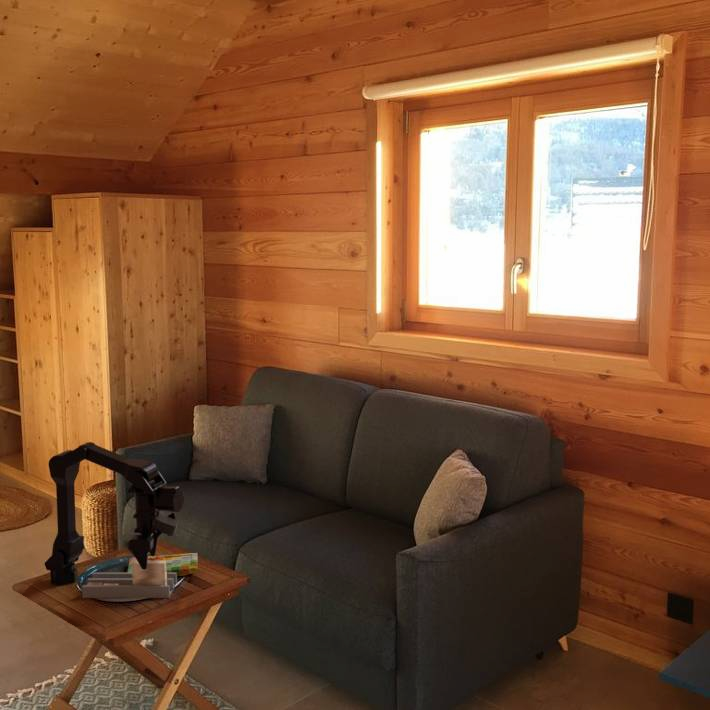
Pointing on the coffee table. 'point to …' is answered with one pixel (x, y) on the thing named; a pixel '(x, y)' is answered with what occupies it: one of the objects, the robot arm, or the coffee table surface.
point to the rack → (126, 586)
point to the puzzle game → (175, 563)
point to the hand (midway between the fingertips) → (148, 562)
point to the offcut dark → (95, 583)
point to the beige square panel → (149, 573)
